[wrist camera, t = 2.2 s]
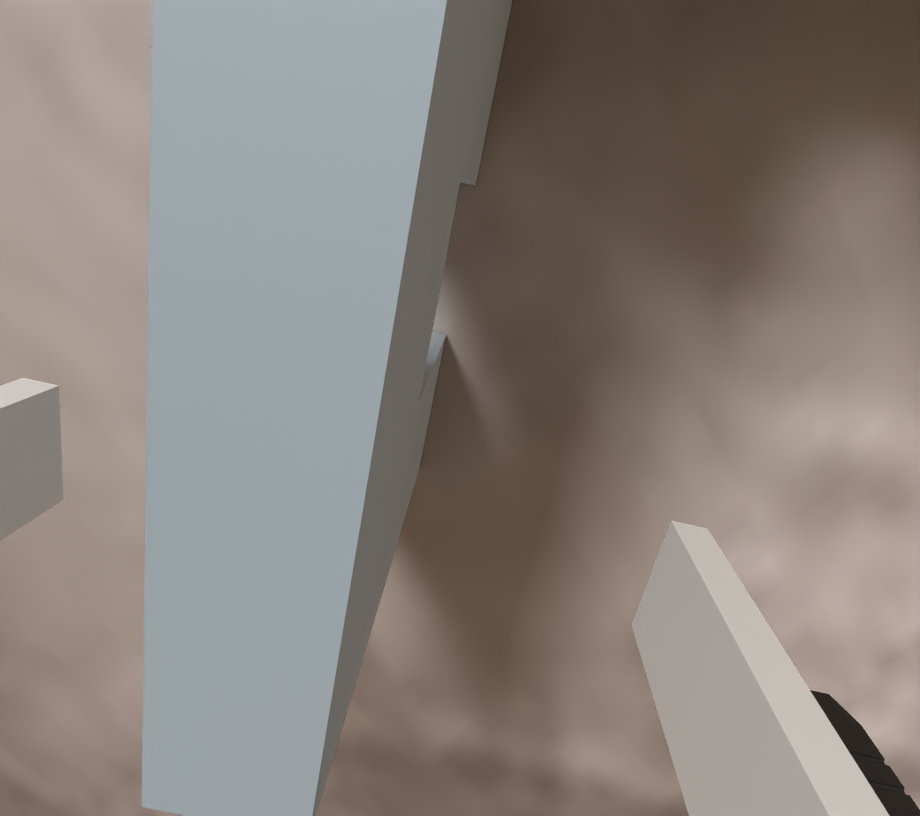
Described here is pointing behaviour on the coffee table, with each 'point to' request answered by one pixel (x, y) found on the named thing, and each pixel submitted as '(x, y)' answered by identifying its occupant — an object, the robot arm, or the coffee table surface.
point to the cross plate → (289, 363)
